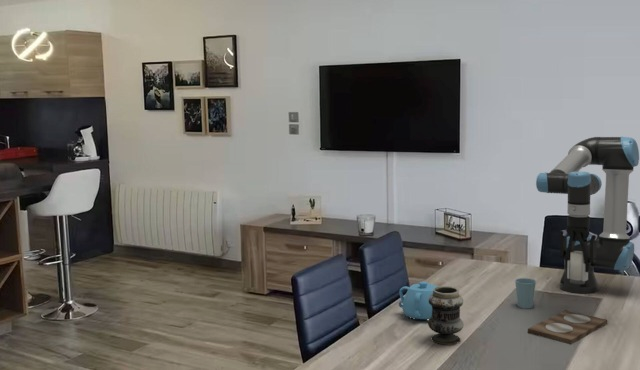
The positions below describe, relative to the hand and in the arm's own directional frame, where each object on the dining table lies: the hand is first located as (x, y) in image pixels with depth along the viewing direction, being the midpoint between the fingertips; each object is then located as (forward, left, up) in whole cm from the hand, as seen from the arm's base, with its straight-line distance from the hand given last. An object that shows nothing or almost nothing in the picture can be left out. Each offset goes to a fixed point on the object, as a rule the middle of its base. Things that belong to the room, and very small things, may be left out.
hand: (577, 278), depth 237 cm
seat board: (+6, 0, -17) cm, 18 cm away
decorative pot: (+30, -46, -17) cm, 58 cm away
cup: (-6, -24, -17) cm, 30 cm away
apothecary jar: (+44, -25, -17) cm, 54 cm away
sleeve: (0, 0, -1) cm, 1 cm away
